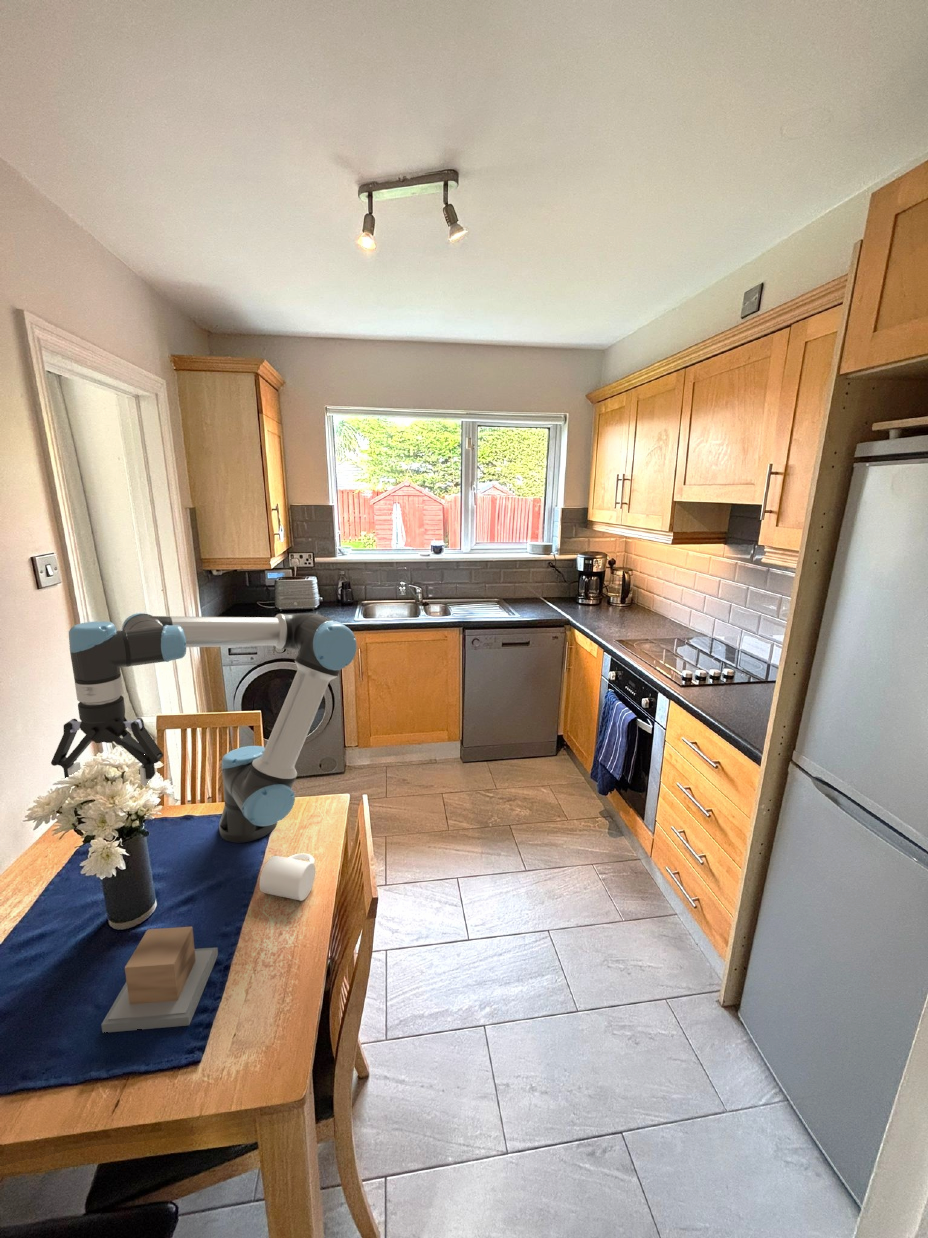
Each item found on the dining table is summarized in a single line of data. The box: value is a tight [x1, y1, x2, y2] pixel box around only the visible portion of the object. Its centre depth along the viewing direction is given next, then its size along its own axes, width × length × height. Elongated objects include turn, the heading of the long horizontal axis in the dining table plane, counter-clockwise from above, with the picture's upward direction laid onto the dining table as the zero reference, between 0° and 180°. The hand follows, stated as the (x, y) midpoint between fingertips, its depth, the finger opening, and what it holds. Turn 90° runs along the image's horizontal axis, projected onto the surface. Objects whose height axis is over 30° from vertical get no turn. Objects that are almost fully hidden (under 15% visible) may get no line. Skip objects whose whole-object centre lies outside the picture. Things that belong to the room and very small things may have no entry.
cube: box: [124, 926, 196, 1004], centre depth 91 cm, size 8×8×8 cm
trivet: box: [100, 946, 219, 1034], centre depth 92 cm, size 14×14×2 cm
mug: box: [259, 852, 316, 902], centre depth 118 cm, size 12×10×8 cm
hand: (113, 793), depth 104 cm, fingers open, 13 cm apart
